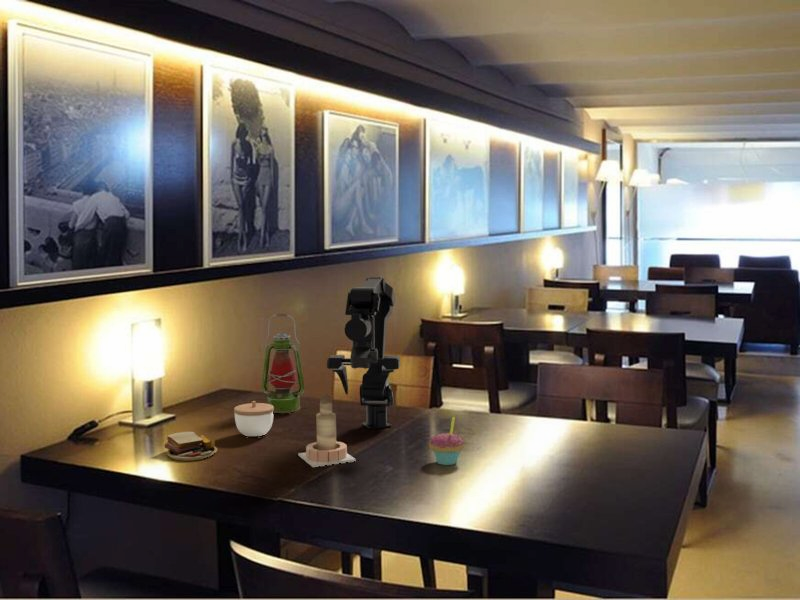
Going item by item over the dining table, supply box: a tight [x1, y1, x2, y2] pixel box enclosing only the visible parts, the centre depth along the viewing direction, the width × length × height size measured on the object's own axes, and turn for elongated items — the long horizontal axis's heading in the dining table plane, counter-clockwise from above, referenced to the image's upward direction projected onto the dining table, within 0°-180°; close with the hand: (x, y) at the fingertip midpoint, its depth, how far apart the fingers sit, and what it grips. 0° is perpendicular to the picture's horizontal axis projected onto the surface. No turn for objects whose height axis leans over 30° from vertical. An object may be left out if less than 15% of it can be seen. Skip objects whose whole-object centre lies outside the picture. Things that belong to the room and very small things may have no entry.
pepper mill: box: [315, 394, 337, 450], centre depth 207 cm, size 5×5×16 cm
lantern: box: [261, 313, 305, 412], centre depth 258 cm, size 14×11×30 cm
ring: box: [297, 440, 357, 468], centre depth 207 cm, size 11×11×3 cm
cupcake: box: [428, 414, 466, 466], centre depth 203 cm, size 9×8×12 cm
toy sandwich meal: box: [164, 431, 218, 462], centre depth 212 cm, size 12×14×5 cm
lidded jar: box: [233, 400, 274, 436], centre depth 230 cm, size 11×11×9 cm
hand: (364, 394), depth 220 cm, fingers open, 9 cm apart
